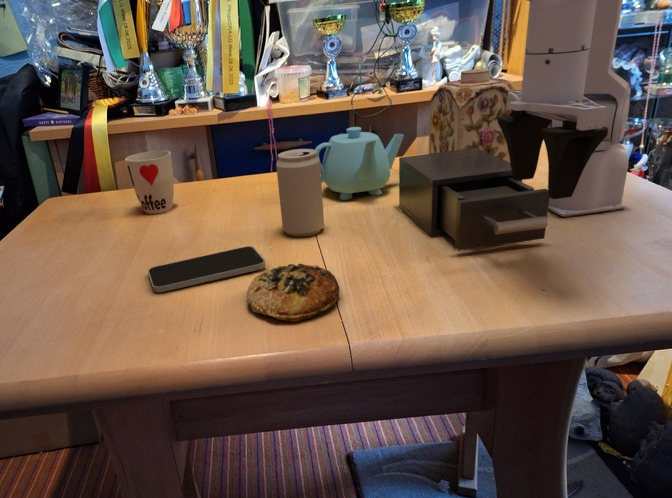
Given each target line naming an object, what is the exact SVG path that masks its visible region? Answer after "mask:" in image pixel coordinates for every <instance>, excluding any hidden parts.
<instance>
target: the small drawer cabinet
mask: <svg viewBox="0 0 672 498" xmlns="http://www.w3.org/2000/svg"><path fill="white" fill-rule="evenodd" d="M505 176H511V177H513V176H512V170H511V164H510V162H507V161H505V160H503V159H501V158H498V157H496V156H494V155H492V154H490V153H487V152H485V151H483V150H481V149H478V148H470V149H462V150H454V151H447V152H439V153H431V154H429V153H424V154H416V155H408V156H401V157H400V156H399V157H398V207H399V208H400V209H401V210H402V211H403V212H404V214H406V215H407V216H408V217H409V218H410V219H411V220H412V221H414V222H415V223H416V224H417V225H418V226H419V227H420V228H421V229H422V230H423V231H424V232H425V233H426V234H427V235H429V237H431V238H432V237H438V236H439V237H440V236H447V235H449V234H448V233H446V232H445V231H444V230H443V229H442V228H441V227H439V226H438V225H437V202H438V185H444V184H451V183H459V182H466V181H474V180H482V179H489V178H497V177H505ZM519 181H521V182H523V180H519Z"/></svg>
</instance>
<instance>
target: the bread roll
mask: <svg viewBox="0 0 672 498" xmlns="http://www.w3.org/2000/svg"><path fill="white" fill-rule="evenodd" d="M339 295H340V285H339V283H338V280H337V278H336V277H335V275H334V274H333V273H332V272H331V271H330V270H329V269H325V268H323V267H319V266H318V265H316V264H314V265H311V264H310V265H308V264H304V263H298V264H297V265H295V264H294V263H289V264H287V265H283V266H282V265H279V266H277V267H273V268H271V269H270V270H267V271H264V272H262V273H261V274H258V275H256V276H255V277H254V278H253V279H252V280H251V282H250V283H249V285H248V289H247V290H246V301H247V303H248V304H249V306H250V307H251V309H252V312H253V313H257V314H259V315H264V316H270V317H272V318H274V319H276V320H281V321H286V322H298V321H299V322H300V321H303V320H309V319H310V318H313V317H315V316H316V315H318V314H321V313H323V312H325V311H328V310H331V308H332V307H333V306H334V305H335V304H336V303H337V302H338V300H339Z"/></svg>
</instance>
